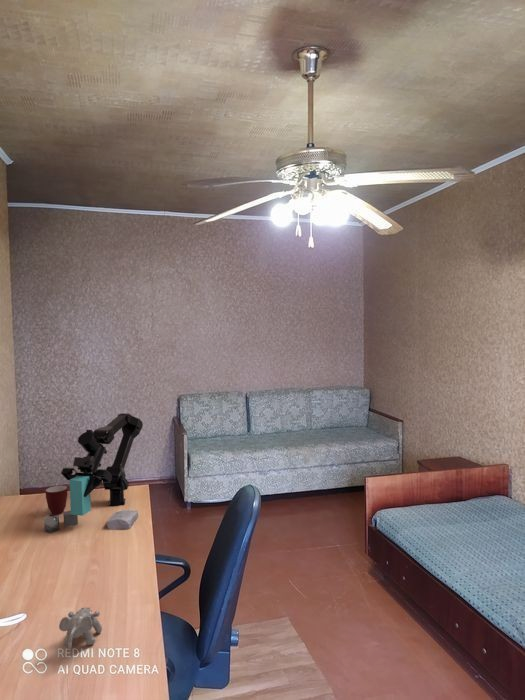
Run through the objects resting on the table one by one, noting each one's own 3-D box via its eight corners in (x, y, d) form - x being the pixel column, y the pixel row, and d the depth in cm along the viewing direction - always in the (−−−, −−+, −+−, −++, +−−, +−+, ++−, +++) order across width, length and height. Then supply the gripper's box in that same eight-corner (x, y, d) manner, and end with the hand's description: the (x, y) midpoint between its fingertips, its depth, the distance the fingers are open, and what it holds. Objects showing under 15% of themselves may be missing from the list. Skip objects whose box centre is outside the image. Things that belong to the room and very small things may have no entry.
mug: (46, 509, 203) (45, 485, 202) (67, 506, 206) (66, 482, 206) (46, 518, 193) (45, 493, 193) (68, 515, 196) (67, 490, 196)
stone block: (105, 535, 181) (132, 529, 181) (102, 522, 181) (129, 516, 181) (115, 523, 193) (140, 518, 193) (113, 511, 193) (137, 506, 193)
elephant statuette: (101, 627, 123) (100, 596, 123) (103, 654, 112) (101, 620, 112) (61, 636, 120) (60, 605, 120) (59, 665, 109) (57, 630, 109)
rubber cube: (63, 523, 189) (63, 511, 188) (76, 520, 191) (75, 509, 191) (65, 527, 185) (64, 515, 184) (77, 524, 187) (77, 513, 187)
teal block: (79, 509, 187) (77, 475, 186) (90, 510, 185) (89, 476, 184) (70, 514, 182) (69, 479, 181) (82, 515, 181) (81, 480, 180)
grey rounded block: (46, 528, 184) (45, 514, 184) (60, 526, 185) (59, 513, 185) (43, 533, 179) (42, 519, 179) (58, 531, 181) (57, 518, 180)
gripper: (62, 446, 188) (45, 484, 178) (106, 448, 184) (91, 487, 174) (76, 461, 196) (59, 498, 186) (118, 463, 192) (104, 501, 182)
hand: (78, 496), depth 182 cm, fingers closed on teal block, 5 cm apart
